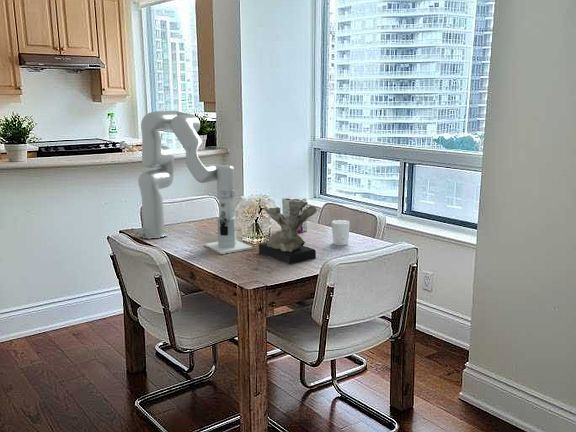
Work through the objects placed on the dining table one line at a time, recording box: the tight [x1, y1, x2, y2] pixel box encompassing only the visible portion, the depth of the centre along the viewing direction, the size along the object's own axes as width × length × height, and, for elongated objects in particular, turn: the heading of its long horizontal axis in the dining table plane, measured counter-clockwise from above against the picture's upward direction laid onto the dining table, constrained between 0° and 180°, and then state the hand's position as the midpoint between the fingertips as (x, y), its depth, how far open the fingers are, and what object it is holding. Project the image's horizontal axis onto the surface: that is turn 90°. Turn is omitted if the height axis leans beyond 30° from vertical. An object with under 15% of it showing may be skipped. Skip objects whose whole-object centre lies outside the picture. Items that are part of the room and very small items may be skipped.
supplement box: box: [216, 215, 238, 247], centre depth 250 cm, size 7×7×13 cm
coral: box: [258, 201, 318, 265], centre depth 239 cm, size 25×20×21 cm
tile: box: [203, 239, 253, 255], centre depth 251 cm, size 15×17×1 cm
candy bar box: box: [281, 196, 308, 234], centre depth 278 cm, size 11×5×16 cm, turn 60°
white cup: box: [331, 219, 351, 246], centre depth 254 cm, size 8×8×10 cm
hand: (227, 232), depth 250 cm, fingers open, 9 cm apart
